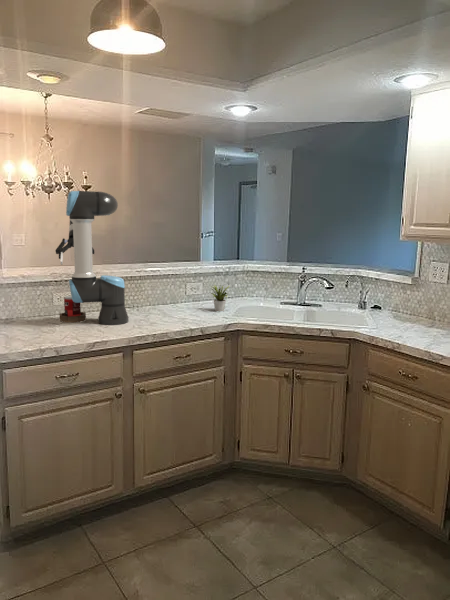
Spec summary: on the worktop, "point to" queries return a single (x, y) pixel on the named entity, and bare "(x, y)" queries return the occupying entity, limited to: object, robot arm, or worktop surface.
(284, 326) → the worktop surface
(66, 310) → the canned food
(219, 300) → the house plant
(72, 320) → the walnut tray
